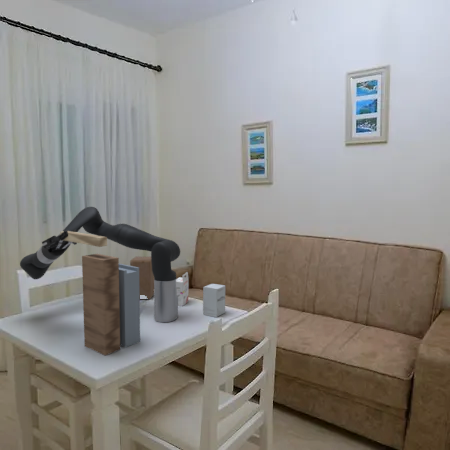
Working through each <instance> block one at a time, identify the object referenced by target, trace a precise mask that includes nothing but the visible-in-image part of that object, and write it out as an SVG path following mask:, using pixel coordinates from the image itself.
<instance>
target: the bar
mask: <svg viewBox="0 0 450 450" xmlns="http://www.w3.org/2000/svg"><path fill="white" fill-rule="evenodd" d="M63 232H64V231H63V230H62V231H59V234H61V233H63ZM67 232H68V237H67V238H65V239H64V240H65V241H70V242H76V243H77V244H81V245H87V246H91V247H92V246H93V247H97V248H101V247H107V246H108V239H107V237H104V236H98V235H94V234H91V233H82V232H79V231H78V232H71V231H67Z"/></svg>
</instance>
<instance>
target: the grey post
mask: <svg viewBox="0 0 450 450" xmlns="http://www.w3.org/2000/svg"><path fill="white" fill-rule="evenodd" d="M140 300H141V299H140V294H139V267H134V266H130V264H123V263H119V309H120V347H123V346H124V348H127V347H130V346H133V345H135V344H138V343H140V342H141V315H140V309H141V308H140V304H141V303H140ZM137 342H138V343H137ZM132 344H133V345H132Z"/></svg>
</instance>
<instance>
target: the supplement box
mask: <svg viewBox="0 0 450 450" xmlns="http://www.w3.org/2000/svg"><path fill="white" fill-rule="evenodd" d="M202 288H203V290H202V294H203V295H202V315H203V316H209V317H212V318H218V317H220V316H222V315H223V314H226V285H224V284H217V283H210V284H207V285H205V286H203V287H202Z"/></svg>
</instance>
